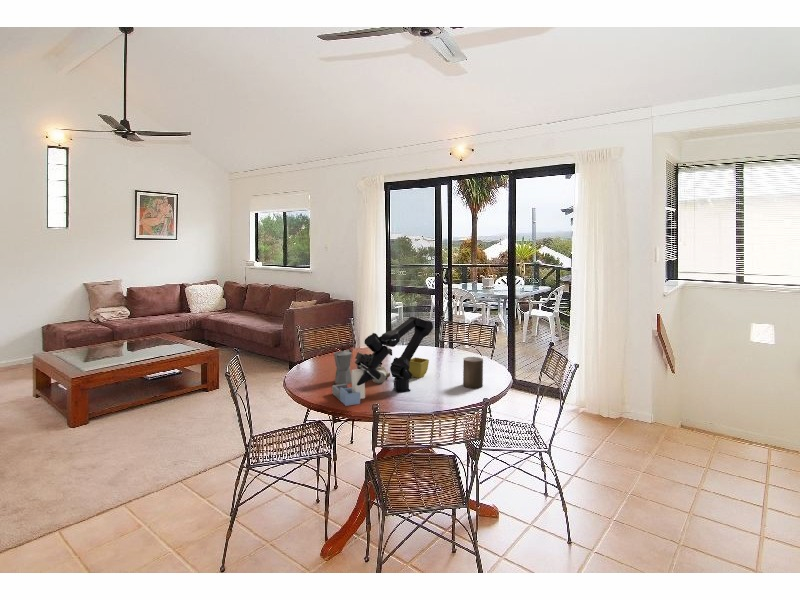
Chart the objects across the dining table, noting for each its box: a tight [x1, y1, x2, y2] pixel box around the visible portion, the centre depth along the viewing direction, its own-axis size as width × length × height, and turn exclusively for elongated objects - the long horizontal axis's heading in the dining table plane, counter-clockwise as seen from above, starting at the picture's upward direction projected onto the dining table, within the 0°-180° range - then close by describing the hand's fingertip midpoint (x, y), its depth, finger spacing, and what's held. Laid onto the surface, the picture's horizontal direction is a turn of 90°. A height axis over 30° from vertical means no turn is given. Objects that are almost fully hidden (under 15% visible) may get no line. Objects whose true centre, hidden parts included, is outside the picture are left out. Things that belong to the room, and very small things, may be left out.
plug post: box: [351, 368, 366, 400], centre depth 220 cm, size 4×4×12 cm
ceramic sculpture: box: [372, 365, 391, 384], centre depth 251 cm, size 11×9×15 cm
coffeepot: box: [333, 347, 353, 385], centre depth 249 cm, size 15×9×18 cm, turn 159°
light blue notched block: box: [339, 386, 361, 407], centre depth 219 cm, size 7×9×6 cm
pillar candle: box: [462, 356, 484, 389], centre depth 242 cm, size 10×10×15 cm
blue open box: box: [331, 384, 352, 401], centre depth 227 cm, size 7×11×4 cm, turn 26°
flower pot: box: [409, 357, 430, 379], centre depth 258 cm, size 9×9×9 cm
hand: (355, 383), depth 220 cm, fingers closed on plug post, 4 cm apart
